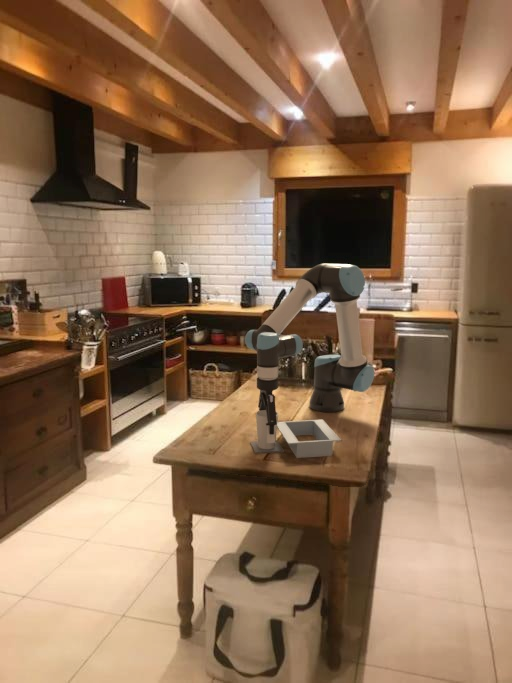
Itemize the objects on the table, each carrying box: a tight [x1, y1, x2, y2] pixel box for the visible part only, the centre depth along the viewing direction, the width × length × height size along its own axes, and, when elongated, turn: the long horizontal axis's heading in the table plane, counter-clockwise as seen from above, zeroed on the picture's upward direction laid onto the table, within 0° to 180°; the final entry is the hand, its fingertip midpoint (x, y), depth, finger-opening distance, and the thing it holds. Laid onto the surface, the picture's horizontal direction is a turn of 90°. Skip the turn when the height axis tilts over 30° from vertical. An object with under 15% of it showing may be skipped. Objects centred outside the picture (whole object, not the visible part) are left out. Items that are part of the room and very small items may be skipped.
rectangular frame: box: [277, 419, 342, 459], centre depth 200 cm, size 19×22×6 cm
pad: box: [250, 439, 284, 455], centre depth 198 cm, size 10×10×1 cm
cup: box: [255, 410, 279, 449], centre depth 197 cm, size 8×8×12 cm
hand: (266, 435), depth 197 cm, fingers open, 13 cm apart
